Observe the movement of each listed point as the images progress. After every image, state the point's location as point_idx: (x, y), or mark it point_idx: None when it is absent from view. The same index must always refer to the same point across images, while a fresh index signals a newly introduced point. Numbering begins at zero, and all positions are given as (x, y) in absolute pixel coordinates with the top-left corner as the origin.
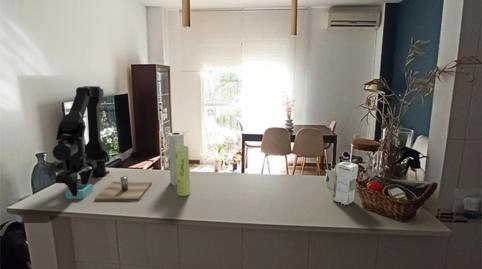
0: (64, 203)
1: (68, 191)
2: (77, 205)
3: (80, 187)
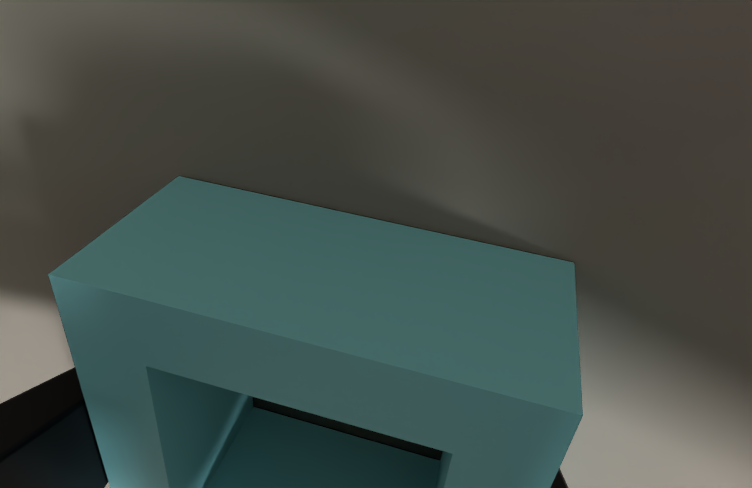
0: (5, 209)
1: (79, 326)
2: (14, 379)
3: (447, 461)
